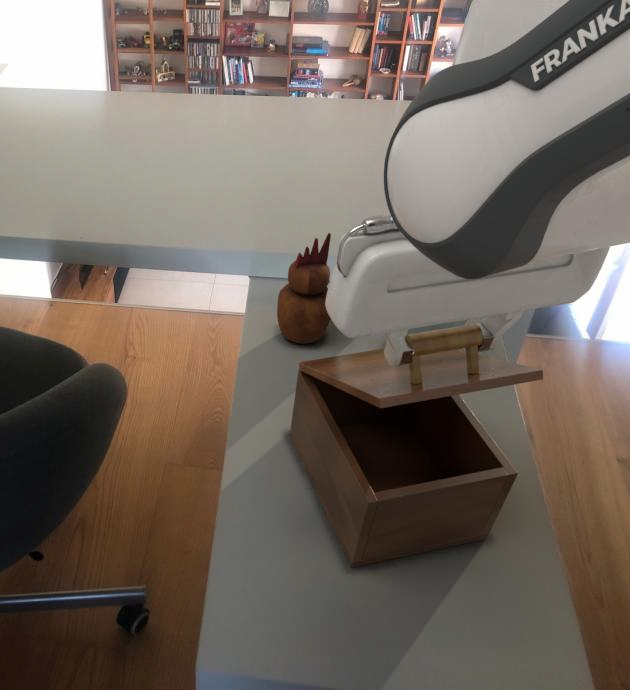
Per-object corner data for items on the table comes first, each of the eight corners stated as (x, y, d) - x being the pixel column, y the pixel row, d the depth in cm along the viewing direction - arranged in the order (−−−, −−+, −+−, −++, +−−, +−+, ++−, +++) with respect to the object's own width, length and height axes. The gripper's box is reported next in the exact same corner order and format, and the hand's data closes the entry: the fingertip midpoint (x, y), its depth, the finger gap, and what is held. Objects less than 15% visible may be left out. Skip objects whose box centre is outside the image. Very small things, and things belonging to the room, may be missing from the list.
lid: (543, 379, 54) (540, 319, 54) (380, 408, 52) (375, 346, 52) (425, 349, 72) (421, 303, 71) (299, 370, 70) (294, 323, 69)
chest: (486, 539, 66) (518, 473, 60) (351, 568, 64) (368, 503, 57) (405, 414, 78) (424, 348, 72) (289, 435, 76) (298, 369, 70)
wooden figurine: (328, 324, 91) (344, 224, 81) (327, 352, 87) (344, 251, 77) (276, 318, 92) (286, 220, 82) (272, 346, 88) (282, 246, 78)
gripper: (364, 247, 43) (333, 401, 52) (650, 207, 46) (574, 359, 55) (325, 198, 48) (303, 347, 57) (588, 164, 51) (527, 311, 60)
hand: (438, 353), depth 56 cm, fingers closed on lid, 6 cm apart
